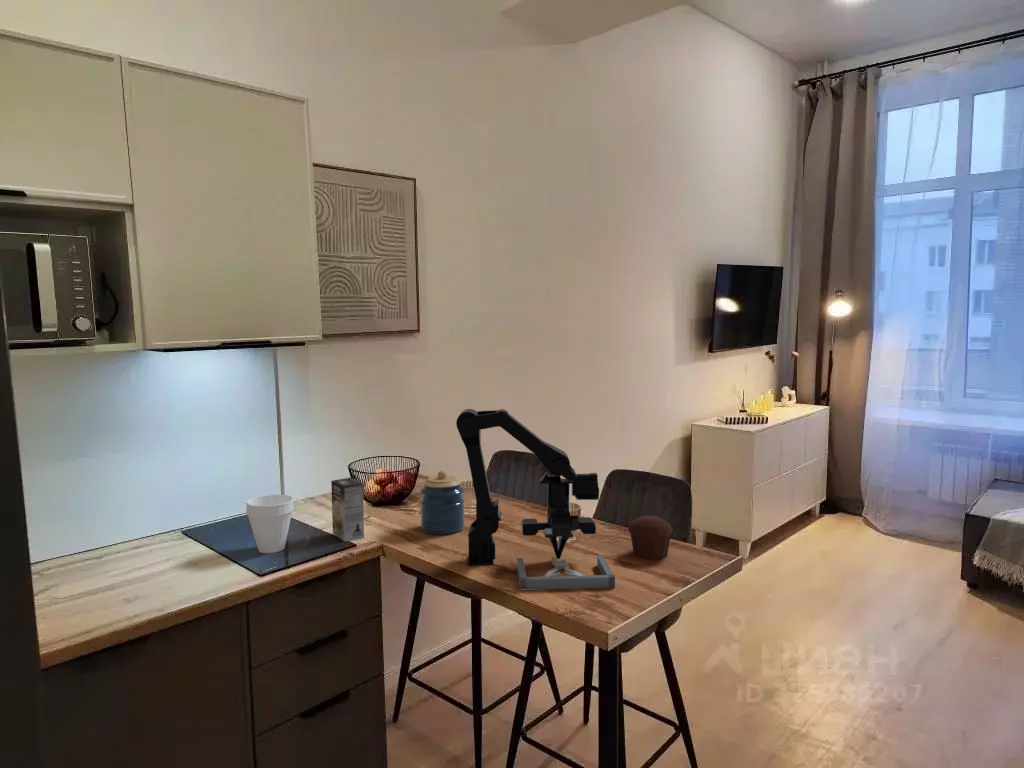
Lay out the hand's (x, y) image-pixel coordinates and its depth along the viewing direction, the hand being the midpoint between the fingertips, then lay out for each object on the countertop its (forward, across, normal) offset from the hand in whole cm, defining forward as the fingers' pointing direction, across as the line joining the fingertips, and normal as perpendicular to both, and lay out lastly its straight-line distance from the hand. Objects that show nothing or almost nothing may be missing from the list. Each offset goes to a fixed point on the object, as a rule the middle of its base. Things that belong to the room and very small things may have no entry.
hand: (558, 558), depth 178 cm
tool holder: (0, 0, -11) cm, 11 cm away
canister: (+1, -31, +29) cm, 43 cm away
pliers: (+1, 0, -8) cm, 8 cm away
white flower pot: (+1, -77, +14) cm, 78 cm away
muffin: (+1, +25, +3) cm, 25 cm away
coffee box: (+1, -58, +24) cm, 63 cm away
